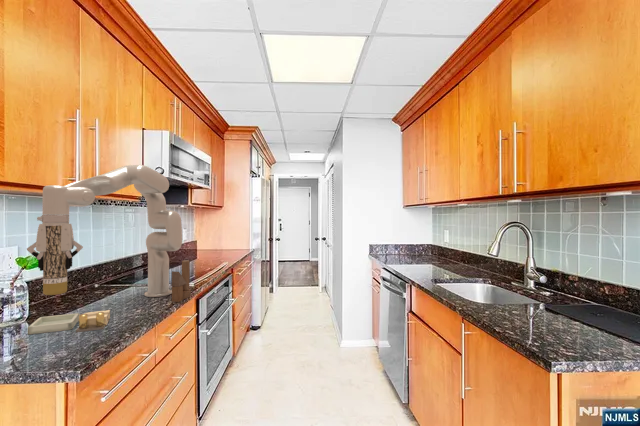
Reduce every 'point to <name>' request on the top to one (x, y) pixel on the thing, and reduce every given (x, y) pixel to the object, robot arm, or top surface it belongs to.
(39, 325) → the tray
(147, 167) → the robot arm
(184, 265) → the wooden block
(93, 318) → the beige stepped block
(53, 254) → the paper tube
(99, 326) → the bench dogs
